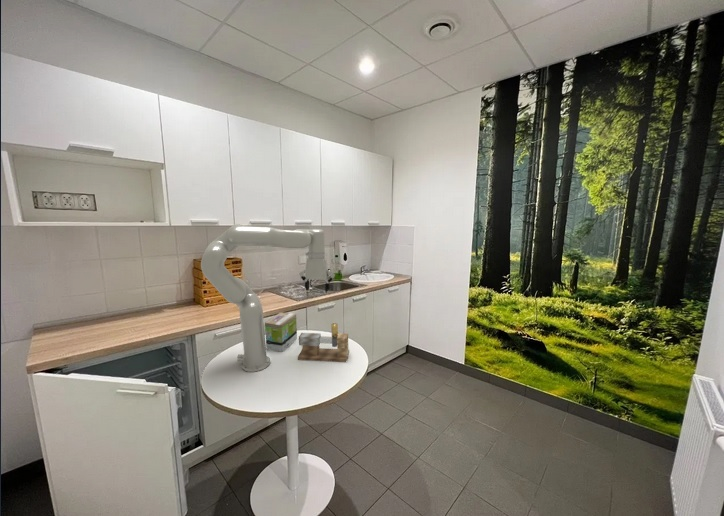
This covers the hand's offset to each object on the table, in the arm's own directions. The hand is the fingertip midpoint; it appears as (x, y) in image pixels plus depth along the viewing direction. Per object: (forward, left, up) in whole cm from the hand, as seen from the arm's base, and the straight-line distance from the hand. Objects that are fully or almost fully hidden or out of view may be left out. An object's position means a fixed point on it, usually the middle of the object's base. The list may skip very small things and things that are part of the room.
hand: (317, 290), depth 144 cm
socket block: (+13, -5, -30) cm, 33 cm away
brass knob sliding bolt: (+6, -5, -26) cm, 27 cm away
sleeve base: (+3, -5, -32) cm, 32 cm away
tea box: (-22, +5, -32) cm, 39 cm away
